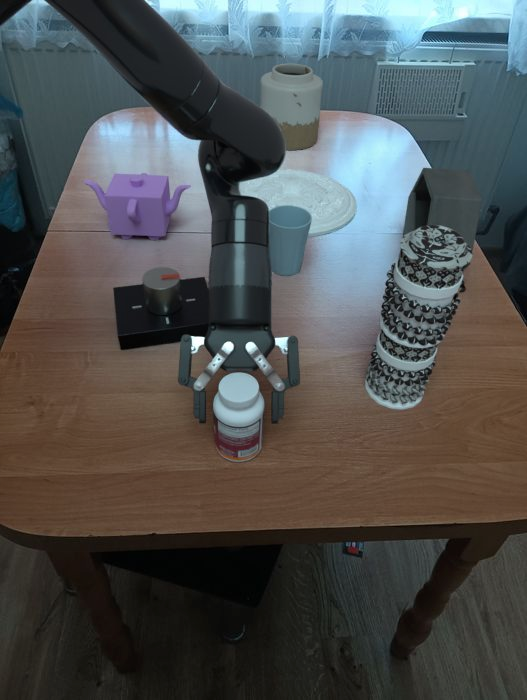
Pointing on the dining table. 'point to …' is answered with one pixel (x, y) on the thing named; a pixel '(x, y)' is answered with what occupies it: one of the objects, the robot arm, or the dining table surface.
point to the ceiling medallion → (306, 197)
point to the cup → (288, 238)
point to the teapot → (138, 204)
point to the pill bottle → (238, 417)
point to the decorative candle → (416, 314)
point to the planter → (444, 203)
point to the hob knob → (162, 290)
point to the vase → (293, 103)
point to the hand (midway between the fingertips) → (238, 422)
